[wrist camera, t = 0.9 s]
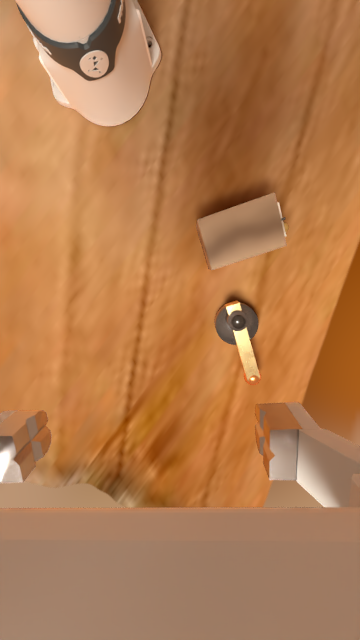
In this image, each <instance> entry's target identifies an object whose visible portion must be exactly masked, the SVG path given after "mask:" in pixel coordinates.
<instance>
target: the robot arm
mask: <svg viewBox="0 0 360 640" xmlns="http://www.w3.org/2000/svg"><path fill="white" fill-rule="evenodd" d="M15 1H16V3H17V6H18V9H19V11H20V13H21V15H22V17H23V19H24V21H25V22H26V24H27V26H28V28H29V30H30V32H31V33H32V35H33V36H34V37H33V41H34V44H35V46H36V48H37V50H38V51H39V53H40V55H39V59H40V62H41V63H42V65H43V67H44V68H45V70H46V71H47V73H48V74H49V76H50V80H51V85H52V90H53V95H54V97H55V99H56V100H57V102H58V103H59V104H61V105H63V106H65V107H68V108H72V109H75V110H76V111H77V112H79V113H80V114H81V115H82V116H83V117H85V118H86V119H87V120H89V121H91V122H93V123H95V124H98V125H102V126H116V125H120V124H122V123H124V122H126V121H128V120H130V119H131V118H132V117H133V116H134V115H135V114H136V113H137V112H138V111H139V110H140V108H141V107H142V105H143V104H144V102H145V99H146V97H147V94H148V91H149V86H150V81H151V77H152V74H153V73H154V71H155V70H156V68H157V66H158V65H159V63H160V60H161V51H160V47H159V45H158V43H157V41H156V38H155V36H154V34H153V32H152V30H151V28H150V26H149V24H148V22H147V20H146V18H145V15H144V13H143V11H142V9H141V7H140V5H139V3H138V1H137V0H15ZM148 45H152V46H151V47H148ZM255 416H256V418H257V421H258V422H257V424H256V425H255V435H256V442H257V446H258V450H259V453H260V454H261V455H263V464H264V466H265V469H266V472H267V475H268V477H269V480H297V482H298V483H299V484H300V485H301V486H302V487H303V488H304V489H305V490H306V491H307V492H309V493H310V494H311V495H312V496H313V497H314V498H315V499H316V500H317V501H318V502H319V503H320V504H322V505H323V506H324V507H287V508H286V507H241V508H0V640H360V446H359V445H357V444H355V443H353V442H351V441H349V440H347V439H345V438H343V437H340V436H338V435H336V434H334V433H332V432H330V431H328V430H326V429H320V428H319V426H318V425H317V424H316V423H315V422H314V420H313V419H312V418H311V417H310V415H309V414H308V413H307V412H306V410H305V409H304V408H303V407H302V405H301V404H300V403H299V402H286V403H268V404H256V406H255ZM47 422H48V417H47V413H46V412H45V411H43V410H19V411H18V410H13V411H3V412H2V413H0V483H16V482H24V481H25V479H26V478H27V477H28V476H29V474H30V473H31V472H32V471H33V469H34V468H35V467H36V461H38V460H39V459H41V458H42V457H44V455H45V454H46V453H47V451H48V449H49V447H50V444H51V432H50V430H49V429H48V427H47V426H46V423H47Z"/></svg>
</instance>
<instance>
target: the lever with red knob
mask: <svg viewBox="0 0 360 640" xmlns="http://www.w3.org/2000/svg"><path fill="white" fill-rule="evenodd" d="M215 328H216V330H217V333H218V335H219V336H220V338H221V339H222V340H223V341H225V342H227V343H229V344H233V345H236V346H237V350H238V353H239V356H240V360H241V363H242V367H243V370H244V379H245V381H246V382H247V383H248V384H250V385H256V384H258V383H259V382H260V380H261V374H260V372H259V371H258V368H257V364H256V360H255V357H254V353H253V349H252V346H251V342H250V340H251V339H252V338H253V337H254V335H255V334H256V332H257V329H258V318H257V315H256V313H255V312H254V311H253V310H252V309H251V308H250V307H249V306H247V305H246V304H244V303H241V302H238V301H234V302H230V303H227V304H224V306H222V307H221V308H220V309H219V310H218V312H217V314H216V316H215Z"/></svg>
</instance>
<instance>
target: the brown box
mask: <svg viewBox="0 0 360 640" xmlns="http://www.w3.org/2000/svg"><path fill="white" fill-rule="evenodd" d="M283 220H285V217H284V218H282V214H281V209H280V205H279V202H277V199H276V195H275V192H274V193H271V194H268V195H265V196H262V197H260V198H257V199H254V200H251V201H248V202H246V203H243V204H240V205H237V206H234V207H231V208H229V209H226V210H223V211H220V212H217V213H215V214H212V215H209V216H206V217H203V218H200V219H198V220H197V225H196V228H197V231H198V235H199V238H200V242H201V245H202V248H203V252H204V255H205V259H206V262H207V265H208V269H210V270H214V269H217V268H220V267H223V266H226V265H230V264H233V263H236V262H239V261H242V260H245V259H248V258H251V257H254V256H257V255H260V254H263V253H266V252H269V251H272V250H275V249H278V248H281V247H285V246H287V244H286V240H285V236H286V233H287V231H288V230H289V226H288V224H287V223H285V222H283Z"/></svg>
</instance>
